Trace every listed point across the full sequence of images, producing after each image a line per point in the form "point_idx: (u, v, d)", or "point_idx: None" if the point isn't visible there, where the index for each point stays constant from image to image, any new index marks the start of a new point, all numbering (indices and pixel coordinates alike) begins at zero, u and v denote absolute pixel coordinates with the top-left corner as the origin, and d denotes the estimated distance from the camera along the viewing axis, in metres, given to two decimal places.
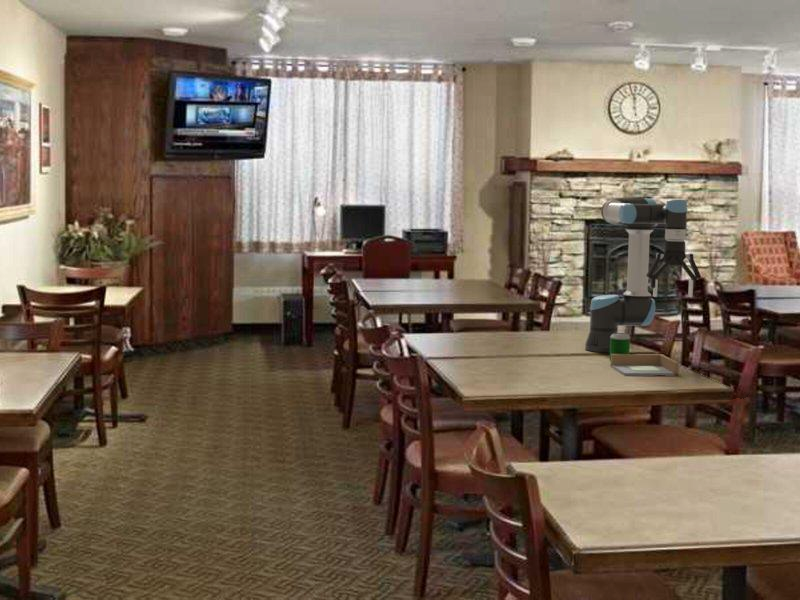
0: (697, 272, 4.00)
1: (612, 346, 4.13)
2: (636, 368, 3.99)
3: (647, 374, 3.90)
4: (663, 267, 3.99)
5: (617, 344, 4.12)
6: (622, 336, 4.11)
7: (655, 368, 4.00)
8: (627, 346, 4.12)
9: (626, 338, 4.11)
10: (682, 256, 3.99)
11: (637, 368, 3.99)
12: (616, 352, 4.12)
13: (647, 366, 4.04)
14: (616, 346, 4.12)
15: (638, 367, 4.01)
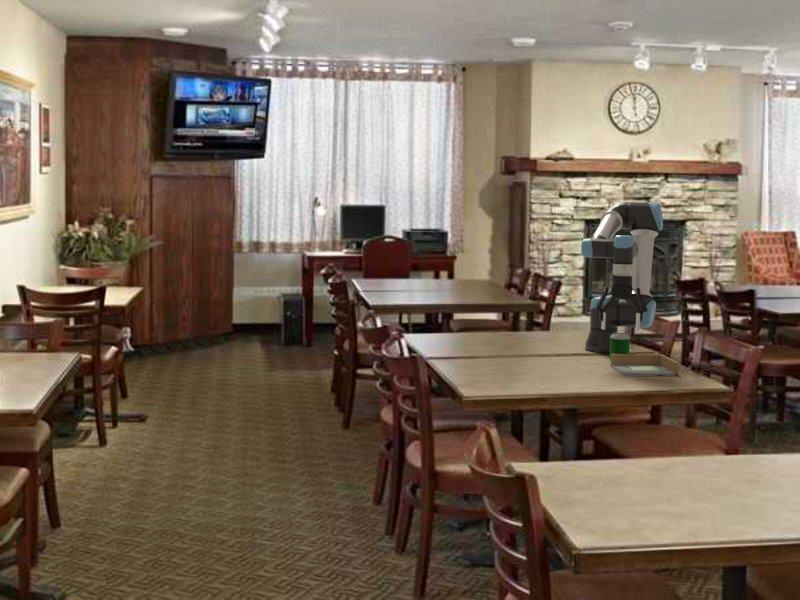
0: (644, 306, 4.13)
1: (612, 346, 4.13)
2: (636, 368, 3.99)
3: (647, 374, 3.90)
4: (611, 301, 4.12)
5: (617, 344, 4.12)
6: (622, 336, 4.11)
7: (655, 368, 4.00)
8: (627, 346, 4.12)
9: (626, 338, 4.11)
10: (629, 290, 4.12)
11: (637, 368, 3.99)
12: (616, 352, 4.12)
13: (647, 366, 4.04)
14: (616, 346, 4.12)
15: (638, 367, 4.01)
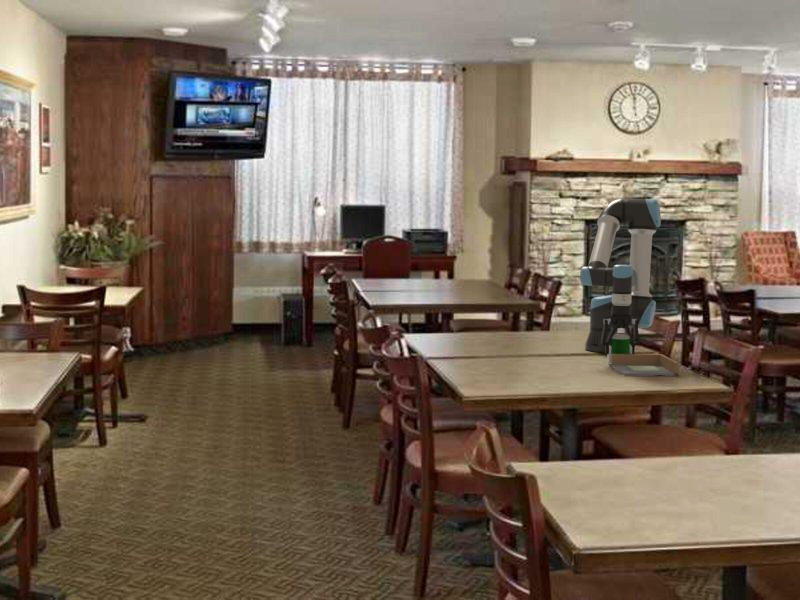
0: (637, 338, 4.14)
1: (612, 346, 4.13)
2: (636, 368, 3.99)
3: (647, 374, 3.90)
4: (613, 332, 4.13)
5: (617, 344, 4.12)
6: (622, 336, 4.11)
7: (655, 368, 4.00)
8: (627, 346, 4.12)
9: (626, 338, 4.11)
10: (628, 319, 4.13)
11: (637, 368, 3.99)
12: (616, 352, 4.12)
13: (647, 366, 4.04)
14: (616, 345, 4.12)
15: (638, 367, 4.01)
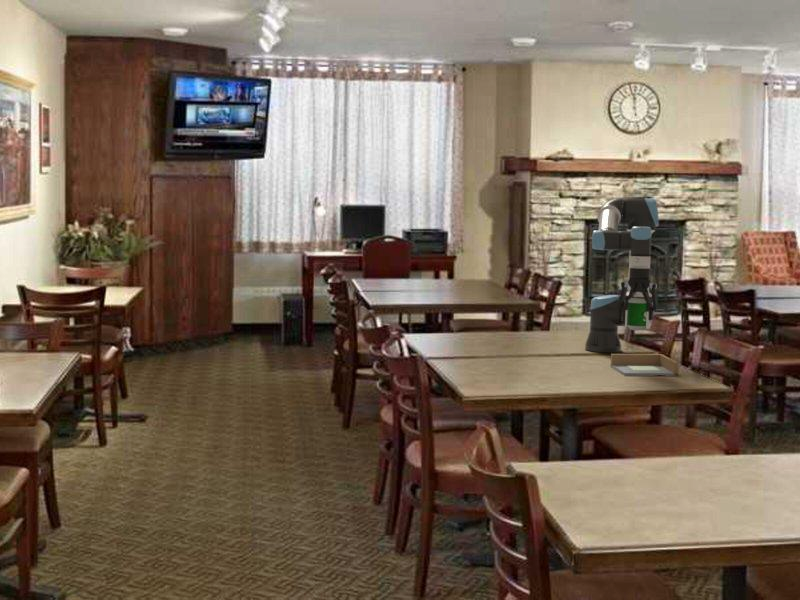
0: (654, 304, 3.97)
1: (628, 310, 4.02)
2: (636, 368, 3.99)
3: (647, 374, 3.90)
4: (629, 296, 4.02)
5: (630, 308, 4.00)
6: (635, 300, 3.98)
7: (655, 368, 4.00)
8: (640, 310, 3.98)
9: (639, 302, 3.98)
10: (645, 283, 3.98)
11: (637, 368, 3.99)
12: (629, 316, 4.00)
13: (647, 366, 4.04)
14: (629, 309, 4.00)
15: (638, 367, 4.01)
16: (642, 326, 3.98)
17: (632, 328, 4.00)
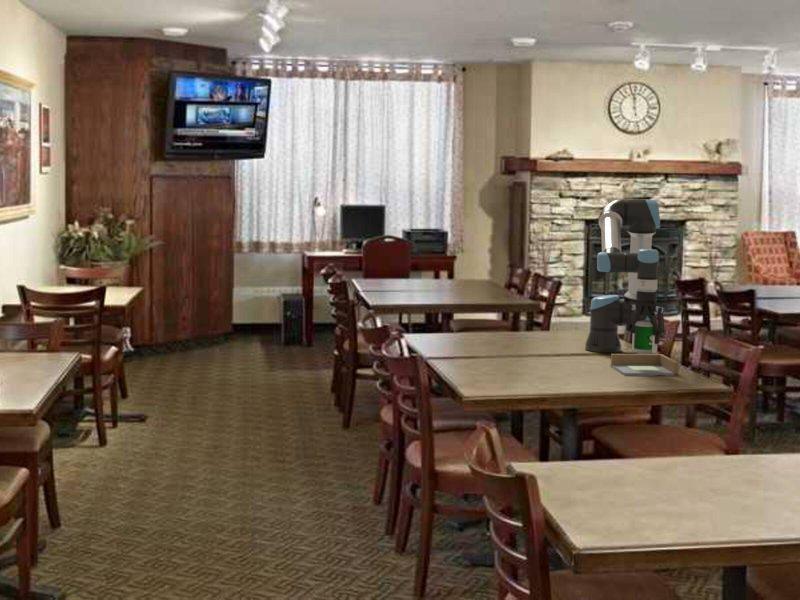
0: (659, 327, 3.93)
1: None
2: (636, 368, 3.99)
3: (647, 374, 3.90)
4: (636, 319, 3.99)
5: (636, 331, 3.97)
6: (641, 323, 3.96)
7: (655, 368, 4.00)
8: (646, 334, 3.95)
9: (644, 325, 3.95)
10: (651, 306, 3.95)
11: (637, 368, 3.99)
12: (635, 339, 3.98)
13: (647, 366, 4.04)
14: (635, 332, 3.98)
15: (638, 367, 4.01)
16: (648, 350, 3.95)
17: (638, 351, 3.97)
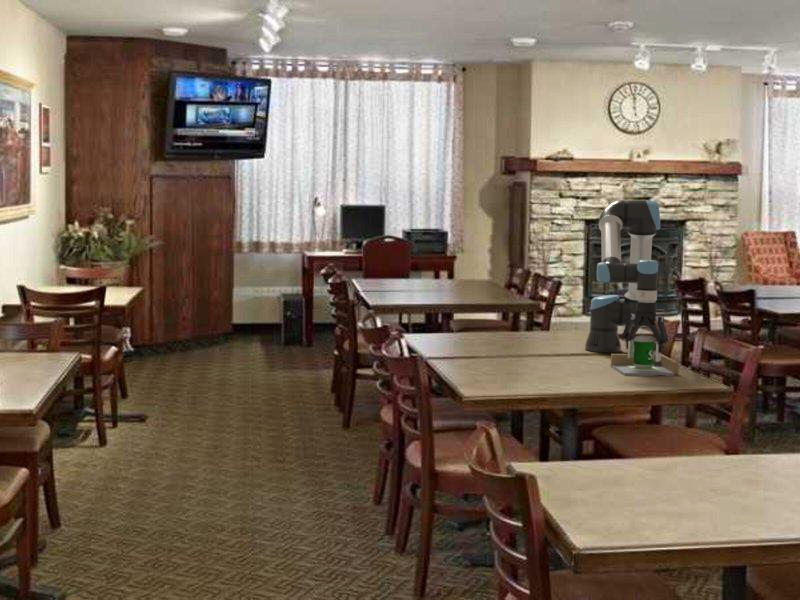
0: (662, 336, 3.93)
1: None
2: (636, 368, 3.99)
3: (647, 374, 3.90)
4: (634, 328, 4.00)
5: (635, 346, 3.98)
6: (640, 338, 3.97)
7: (655, 368, 4.00)
8: (645, 349, 3.96)
9: (643, 341, 3.96)
10: (650, 317, 3.95)
11: (637, 368, 3.99)
12: (634, 354, 3.99)
13: None
14: (634, 347, 3.99)
15: None
16: (647, 365, 3.96)
17: (637, 366, 3.98)
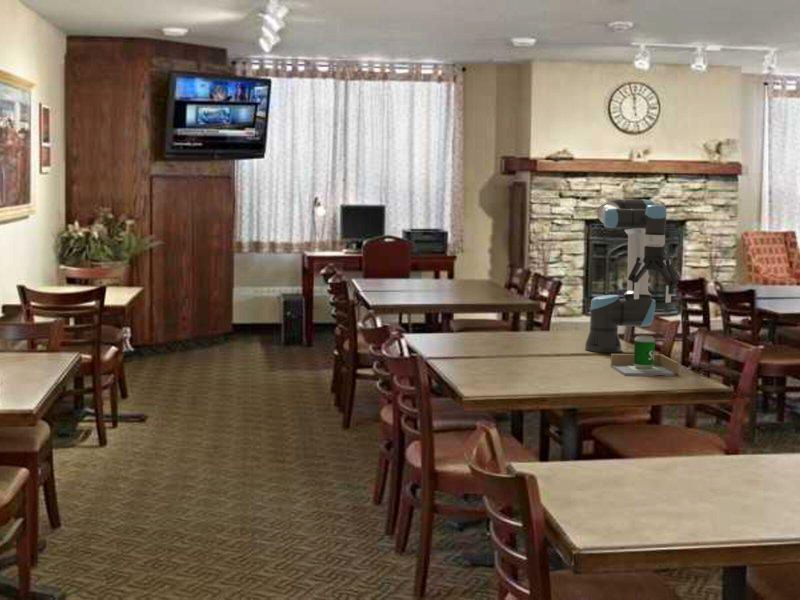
0: (672, 278, 4.01)
1: (634, 348, 4.00)
2: (636, 368, 3.99)
3: (647, 374, 3.90)
4: (641, 271, 4.09)
5: (635, 346, 3.98)
6: (640, 338, 3.97)
7: (655, 368, 4.00)
8: (645, 349, 3.96)
9: (644, 341, 3.96)
10: (658, 261, 4.04)
11: (637, 368, 3.99)
12: (635, 354, 3.99)
13: None
14: (635, 347, 3.99)
15: None
16: (647, 365, 3.96)
17: (637, 366, 3.98)
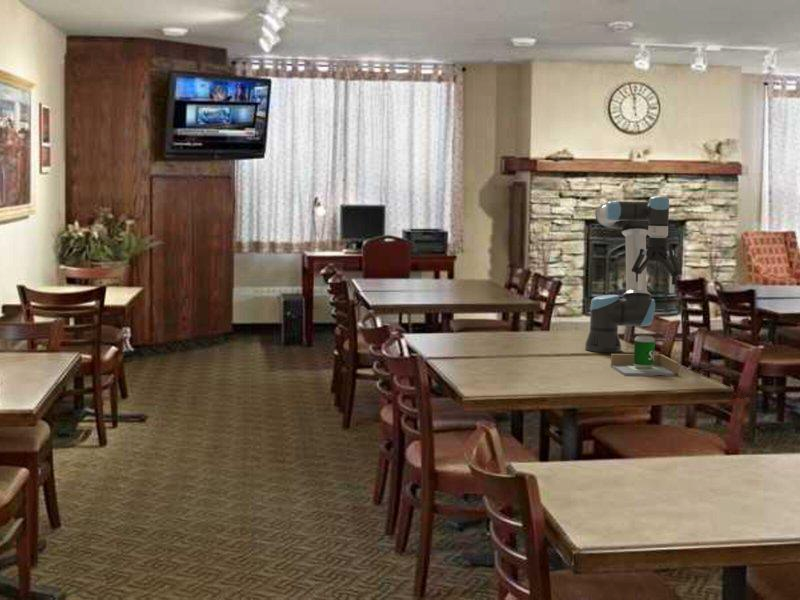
0: (675, 269, 4.05)
1: (634, 348, 4.00)
2: (636, 368, 3.99)
3: (647, 374, 3.90)
4: (644, 262, 4.13)
5: (635, 346, 3.98)
6: (640, 338, 3.97)
7: (655, 368, 4.00)
8: (645, 349, 3.96)
9: (644, 341, 3.96)
10: (662, 252, 4.08)
11: (637, 368, 3.99)
12: (635, 354, 3.99)
13: None
14: (635, 348, 3.99)
15: None
16: (647, 365, 3.96)
17: (637, 366, 3.98)
